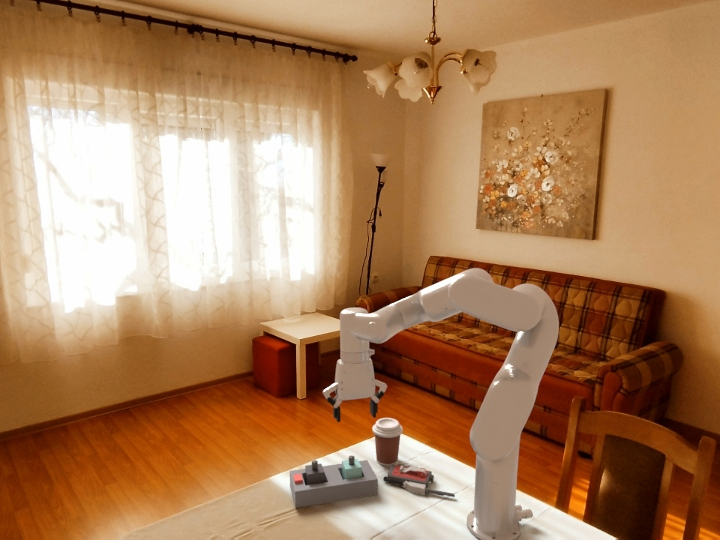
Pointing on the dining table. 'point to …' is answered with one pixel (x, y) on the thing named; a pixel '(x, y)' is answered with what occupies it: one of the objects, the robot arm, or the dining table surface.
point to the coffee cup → (387, 440)
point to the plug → (351, 468)
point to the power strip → (330, 484)
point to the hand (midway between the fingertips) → (355, 417)
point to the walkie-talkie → (413, 479)
